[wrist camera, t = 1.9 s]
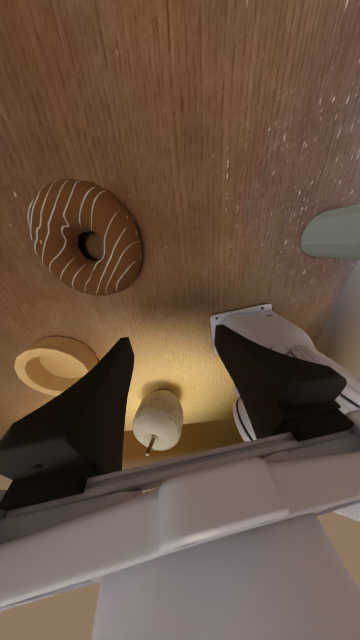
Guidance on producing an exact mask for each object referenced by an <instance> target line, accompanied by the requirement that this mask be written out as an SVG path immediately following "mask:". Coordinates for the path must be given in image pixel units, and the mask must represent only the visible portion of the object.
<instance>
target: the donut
mask: <svg viewBox="0 0 360 640" xmlns="http://www.w3.org/2000/svg"><path fill="white" fill-rule="evenodd" d="M27 216H28V224H29V228H30V236H31V234H32V237H31V239H32V241H33V243H34V250H35V253H36V252H37V253H36V254H37V255H38V256H39V258H40V259H41V261H42V263H44V264H43V265H44V266H46V267H47V268H48V270H49V271H50V272H51V273H52V274H53V275H54V276H55V277H57V278H58V279H59V280H60V281H61V282H62V283H64V284H66V285H67V286H69V287H71V288H73V289H75V290H77V291H80V292H83V293H86V294H90V295H99V296H101V295H110V294H113V293H117V292H120V291H123V290H124V289H126V288H127V287H128V286H129V285H130V283H131V282H132V281H133V280H134V279H135V278H136V276H137V275H138V273H139V269H140V264H141V257H142V247H141V242H140V237H139V233H138V230H137V227H136V225H135V223H134V222H133V220H132V218H131V217H130V215H129V213H128V211H127V210H126V209H125V208H124V207H123V206H122V205H121V204H120V203H119V201H118V200H117V199H116V198H115V197H114V196H113V195H112V194H111V193H110V191H109V190H106V189H104V188H101V187H100V186H98V185H97V184H95V183H94V182H88V181H81V180H75V179H60V180H58V179H57V180H56V181H53V182H51V183H49V184H47V185H46V186H44V187H43V188H42V189H40V190H39V192H38V193H37V194H36V195H35V197H34V199H33V201H32V203H31V204H30V207H29V210H28V215H27ZM89 231H92V232H95V233H96V234H97V235H98V236H99V238H100V239H101V240H102V242H103V244H104V255H103V257H102V259H100V260H99V261H93V260H88V259H86V258H85V257H84V256H83V255H82V253H81V252H80V249H79V247H78V241H79V240H78V236H79V234H82V233H83V232H86V233H88V232H89Z"/></svg>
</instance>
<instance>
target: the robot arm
mask: <svg viewBox="0 0 360 640" xmlns="http://www.w3.org/2000/svg"><path fill="white" fill-rule="evenodd" d="M261 307H262V309H261ZM216 317H218V318H216ZM215 318H216V319H215ZM210 324H211V333H212V343H213V352H214V355H219V357H220V358H221V360H222V362H223V364H224V365H225V367H226V369H227V371H228V372H229V374H230V376H231V378H232V380H233V381H234V384H235V388H234V391H235V393H236V395H237V398H238V399H237V400H236V401H235V402H234V405H233V415H234V419H235V422H236V425H237V428H238V430H239V432H240V434H241V436H242V438H243V440H244V441H245V442H244V443H239V444H235V445H230V446H226V447H222V448H217V449H213V450H209V451H204V452H200V453H195V454H191V455H187V456H183V457H178V458H174V459H170V460H165V461H161V462H156V463H152V464H148V465H143V466H139V467H135V468H130V469H126V470H122V454H123V438H124V425H125V413H126V404H127V397H128V392H129V387H130V382H131V377H132V372H133V367H134V354H133V350H132V347H131V344H130V340H129V337H125V338H120V339H119V340H118V342H117V343H116V344H115V345H114V346H113V347H112V348H111V350H110V351H109V352H108V353H107V354H106V355H105V356H104V357H103V358H102V359H101V360H100V361H99V362H98V363H97V364H96V365H95V366H94V367H93V368H92V369H91V370H90V371H89V372H88V373H87V374H85V375H84V376H83V377H82V378H81V379H79V380H78V381H77V382H76V383H74V384H73V385H72V386H70V387H69V388H68V389H66V390H65V391H64V392H62V393H61V394H59V395H58V396H57V397H55V398H54V399H52V400H51V401H49V402H48V403H46V404H45V405H43V406H42V407H40V408H38V409H37V410H35V411H33V412H32V413H30V414H28V415H27V416H25V417H24V418H22V419H20V420H19V421H17V422H15V423H13V424H12V426H11V427H10V428H9V430H8V431H7V432H6V434H5V435H4V436H3V437H2V439H1V440H0V474H1V475H3V476H5V477H8V478H10V479H12V480H13V481H12V483H11V485H10V486H9V488H8V490H0V611H2V610H6V609H10V608H13V607H16V606H20V605H23V604H27V603H30V602H33V601H37V600H40V599H43V598H47V597H50V596H54V595H57V594H61V593H64V592H67V591H71V590H74V589H78V588H81V587H85V586H88V585H91V584H95V583H98V582H101V583H100V590H99V597H98V602H97V609H96V615H95V621H94V628H93V634H92V640H360V591H359V589H358V587H357V586H356V584H355V582H354V580H353V579H352V577H351V575H350V574H349V572H348V570H347V568H346V567H345V565H344V563H343V561H342V560H341V558H340V556H339V554H338V553H337V551H336V549H335V548H334V546H333V544H332V543H331V541H330V539H329V537H328V536H327V534H326V532H325V530H324V529H323V527H322V525H321V523H320V522H319V520H318V519H317V517H316V516H319V515H322V514H325V513H329V512H335V513H338V514H340V515H343V516H346V517H348V518H351V519H353V520H356V521H358V522H360V378H358V377H357V376H356V375H354V374H353V373H351V372H350V371H348V370H347V369H345V368H344V367H342V366H341V365H339V364H338V363H336V362H334V361H333V360H331V359H330V358H328V357H327V356H325V355H323V354H322V353H320V352H318V351H317V350H315V346H314V344H313V342H312V340H311V339H310V337H309V336H308V335H307V334H306V332H305V331H303V330H302V329H301V328H299V327H298V326H296V325H295V324H293V323H291V322H290V321H288V320H287V319H285V318H283V317H282V316H280V315H279V314H277V313H275V312H274V311H272V305H271V304H269V303H268V304H263V305H258V306H253V307H248V308H244V309H239V310H234V311H229V312H225V313H220V314H215V315H212V316H210ZM156 487H159V488H156ZM152 488H156V489H153V490H150V491H148V492H145V493H142V491H143V490H148V489H152Z"/></svg>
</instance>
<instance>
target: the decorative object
mask: <svg viewBox="0 0 360 640" xmlns="http://www.w3.org/2000/svg"><path fill="white" fill-rule="evenodd" d="M182 423H183V410H182V406H181V404H180V401H179V400H178V398H177V397H176V396H175V395H174V394H173V393H172V392H170V391H167V390H158V391H154V392H152V393H151V394H149V395H148V396H147V397H146V398H145V399H144V400H143V401H142V402H141V404H140V406H139V408H138V410H137V412H136V415H135V417H134V420H133V433H134V435H135V437H136V438H137V439H138V441H139V442H141V443H142V444H143V445H145V446H146V447H148V448H147V451H146V456H149V455H150V452H151V449H154V450H166V449H169V448H171V447H173V446H174V445H176V443H177V442H178V441H179V438H180V435H181V430H182Z"/></svg>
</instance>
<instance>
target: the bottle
mask: <svg viewBox="0 0 360 640" xmlns="http://www.w3.org/2000/svg"><path fill="white" fill-rule="evenodd" d="M301 248H302V251H303V252H304V253H305V254H307V255H310V256H316V257H330V258H344V259H358V260H360V204H357V205H353V206H348V207H343V208H339V209H334V210H330V211H325V212H322V213H320V214H318V215H317V216H315V217H314V218H313V219H312V220H311V221H310V222H309V223H308V224H307V226H306V227H305V229H304V231H303V234H302V237H301Z"/></svg>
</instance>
